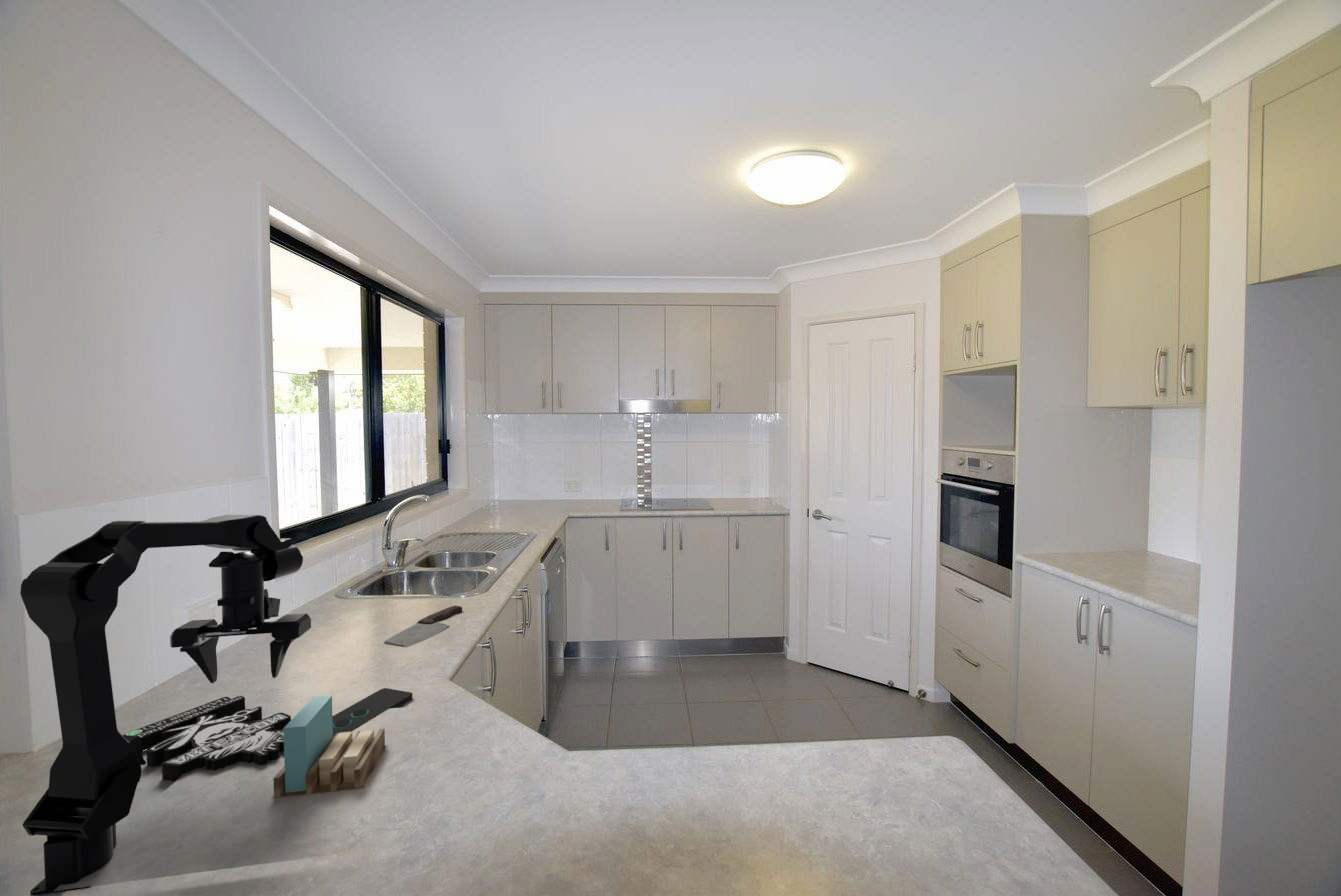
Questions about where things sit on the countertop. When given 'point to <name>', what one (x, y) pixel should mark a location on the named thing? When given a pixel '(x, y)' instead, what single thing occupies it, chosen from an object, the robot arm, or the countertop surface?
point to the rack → (336, 771)
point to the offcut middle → (333, 756)
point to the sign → (212, 738)
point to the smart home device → (368, 709)
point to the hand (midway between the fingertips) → (244, 679)
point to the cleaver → (423, 628)
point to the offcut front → (356, 754)
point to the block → (306, 740)
